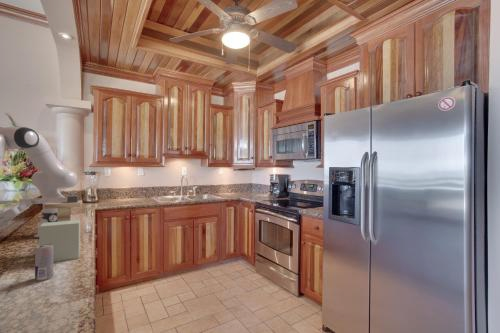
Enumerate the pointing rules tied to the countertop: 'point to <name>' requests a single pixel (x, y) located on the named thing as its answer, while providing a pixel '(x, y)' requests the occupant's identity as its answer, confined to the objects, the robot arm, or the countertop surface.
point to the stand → (63, 210)
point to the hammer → (50, 200)
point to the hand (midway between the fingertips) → (33, 201)
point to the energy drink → (43, 262)
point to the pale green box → (61, 239)
